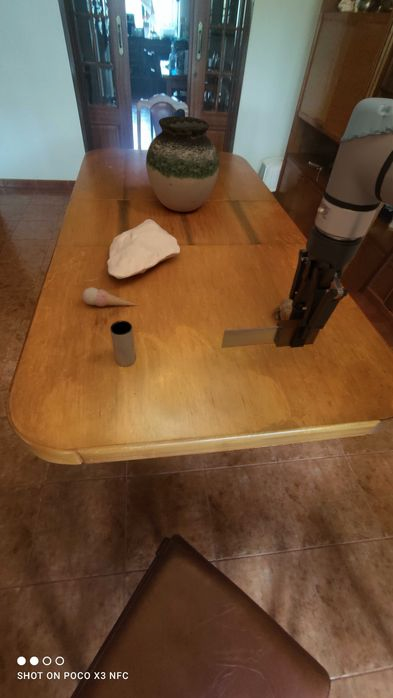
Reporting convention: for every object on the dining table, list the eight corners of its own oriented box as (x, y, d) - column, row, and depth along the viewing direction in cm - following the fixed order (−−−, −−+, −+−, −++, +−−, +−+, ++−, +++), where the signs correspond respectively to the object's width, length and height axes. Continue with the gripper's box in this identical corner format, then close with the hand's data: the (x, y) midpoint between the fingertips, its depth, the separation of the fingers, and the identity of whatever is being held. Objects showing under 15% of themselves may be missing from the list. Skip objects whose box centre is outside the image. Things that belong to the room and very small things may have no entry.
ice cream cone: (139, 301, 91) (85, 290, 87) (141, 294, 87) (84, 282, 83) (136, 316, 90) (81, 306, 86) (138, 310, 85) (80, 298, 82)
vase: (157, 224, 122) (154, 133, 100) (141, 195, 140) (136, 112, 118) (224, 218, 130) (236, 132, 108) (201, 191, 148) (207, 113, 126)
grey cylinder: (128, 349, 76) (124, 317, 69) (139, 360, 74) (136, 328, 67) (112, 358, 74) (105, 326, 67) (123, 370, 72) (118, 338, 65)
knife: (308, 335, 66) (316, 317, 63) (313, 344, 65) (321, 326, 61) (220, 342, 63) (223, 324, 59) (223, 352, 61) (226, 333, 58)
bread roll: (272, 318, 94) (267, 300, 88) (303, 302, 93) (301, 283, 87) (288, 341, 87) (284, 324, 81) (322, 324, 86) (321, 305, 80)
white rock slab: (188, 236, 114) (185, 211, 108) (168, 293, 90) (163, 264, 84) (126, 237, 118) (120, 213, 112) (91, 292, 94) (81, 265, 87)
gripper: (294, 207, 52) (263, 316, 69) (340, 258, 42) (290, 371, 59) (336, 207, 53) (295, 314, 70) (390, 256, 43) (327, 367, 60)
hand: (293, 340), depth 65 cm, fingers closed on knife, 2 cm apart
